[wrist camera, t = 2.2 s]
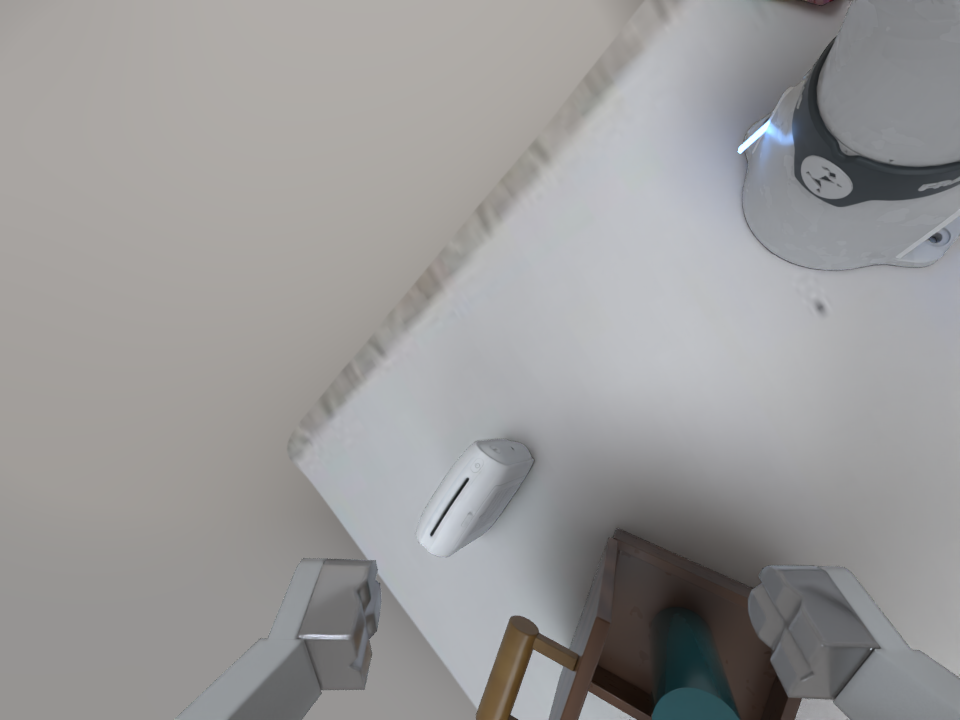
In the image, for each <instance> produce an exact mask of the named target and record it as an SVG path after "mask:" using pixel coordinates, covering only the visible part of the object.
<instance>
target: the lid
mask: <svg viewBox="0 0 960 720" xmlns="http://www.w3.org/2000/svg"><path fill="white" fill-rule="evenodd" d="M617 544H618V541H617V540H615V539H612V538H610V537H609V538H608V540H607V543H606V546H605V549H604V552H603V555H602V557H601V560H600V563H599V566H598V569H597V572H596V575H595V578H594V580H593V583H592V586H591V589H590V592H589V595H588V598H587V600H586V603H585V606H584V609H583V612H582V615H581V618H580V620H579V623H578V626H577V629H576V632H575V635H574V638H573V641H572V643H571V646H570V649H568V648H566V647H564V646H562V645H560V644H558V643H557V642H555V641H553V640H551V639H549V638H547V637H546V636H544V635H542V634H540V633H539V630H538V628H537V626H536V625H535V624H534V623H533V622H532V621H530V620H529V619H527V618H525V617H522V616H512V617H511V618H510V619H509V622H508V625H507V628H506V631H505V634H504V637H503V639H502V642H501V645H500V648H499V651H498V654H497V657H496V659H495V662H494V665H493V668H492V671H491V674H490V676H489V679H488V682H487V685H486V688H485V691H484V694H483V696H482V699H481V702H480V705H479V708H478V711H477V713H476V720H518V719H516V718H515V717H513V716H511V715H510V714H511V711H512V708H513V706H514V703H515V700H516V697H517V694H518V691H519V688H520V686H521V683H522V680H523V677H524V674H525V671H526V668H527V666H528V663H529V660H530V657H531V654H532V651H533V649H534V650H536V651H538V652H539V653H541V654H543V655H545V656H547V657H548V658H550V659H552V660H554V661H555V662H557V663H559V664H561V665H563V669H562V672H561V675H560V678H559V682H558V686H557V689H556V693H555V697H554V701H553V705H552V709H551V712H550V716H549V720H578V719H579V716H580V713H581V710H582V707H583V704H584V701H585V698H586V696H587V693H588V690H589V687H590V684H591V681H592V678H593V675H594V673H595V670H596V667H597V664H598V661H599V658H600V655H601V652H602V650H603V647H604V644H605V641H606V638H607V635H608V632H609V629H610V627H611V619H612V607H613V594H614V582H615V569H616V557H617Z"/></svg>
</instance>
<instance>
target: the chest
mask: <svg viewBox="0 0 960 720" xmlns="http://www.w3.org/2000/svg"><path fill="white" fill-rule="evenodd" d="M613 539H615V540H617V541H618V544H617V557H616V569H615V582H614V594H613V607H612V619H611V627H610V629H609V632H608V635H607V638H606V641H605V644H604V647H603V650H602V652H601V655H600V658H599V661H598V664H597V667H596V670H595V673H594V675H593V678H592V681H591V684H590V687H589V690H588V691H589V692H591V693H593V694H594V695H596V696H598V697H599V698H601V699H603V700H605V701H606V702H608V703H610V704H611V705H613V706H615V707H616V708H618V709H620V710H621V711H623V712H625V713H627V714H628V715H630V716H632V717H633V718H635V719H637V720H651V687H650V642H649V630H650V625H651V622H652V620H653V618H654V617H655V616H656V614H658V613H659V612H660V611H662V610H664V609H666V608H669V607H683V608H686V609H689V610H691V611H693V612H695V613H697V614H698V615H699V616H701V617H702V618H703V619H704V620H705V621H706V622H707V624H708V625H709V627H710V628H711V630H712V632H713V635H714V638H715V641H716V644H717V647H718V650H719V653H720V656H721V659H722V662H723V665H724V668H725V672H726V675H727V678H728V681H729V684H730V687H731V690H732V693H733V696H734V699H735V702H736V705H737V708H738V711H739V714H740V717H741V720H794V719H795V717H796V714H797V711H798V708H799V705H800V702H801V699H802V698H789V697H788V695H787V694H786V692H785V690H784V688H783V686H782V684H781V682H780V680H779V678H778V676H777V674H776V672H775V670H774V668H773V666H772V664H771V662H770V656H771V648H770V647H769V646H768V645H766V644H765V643H764V642H763V641H762V640H761V639H759V638H758V636H757V634H756V632H755V630H754V628H753V626H752V623H751V620H750V617H749V613H748V597H749V595H750V593H751V590H752V589H753V588H751V587H749V586H746V585H744V584H742V583H740V582H737V581H735V580H733V579H731V578H728V577H726V576H724V575H722V574H719V573H717V572H715V571H713V570H710V569H708V568H706V567H704V566H701V565H699V564H697V563H695V562H692V561H690V560H688V559H686V558H684V557H681V556H679V555H677V554H675V553H672V552H670V551H668V550H666V549H663V548H661V547H659V546H657V545H654V544H652V543H650V542H648V541H645V540H643V539H641V538H639V537H636V536H634V535H632V534H630V533H627V532H625V531H623V530H621V529H618V528H616V530H615V533H614V536H613Z"/></svg>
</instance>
